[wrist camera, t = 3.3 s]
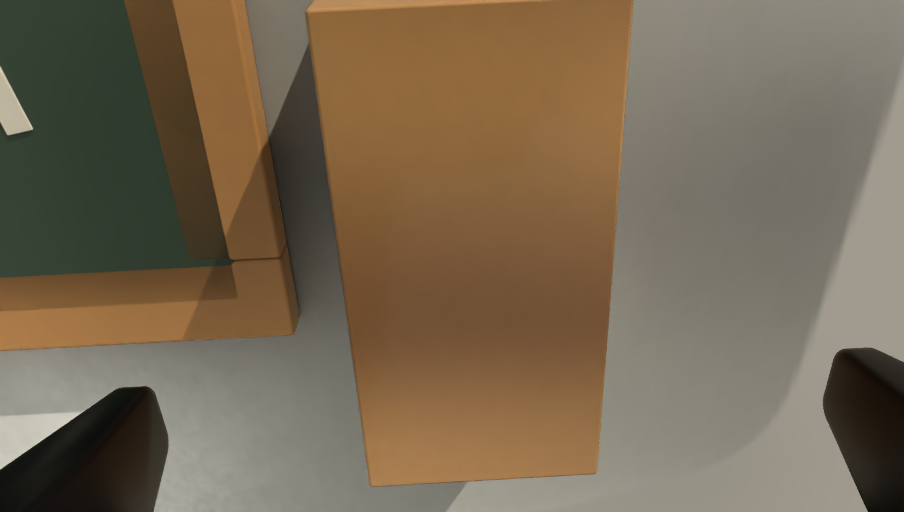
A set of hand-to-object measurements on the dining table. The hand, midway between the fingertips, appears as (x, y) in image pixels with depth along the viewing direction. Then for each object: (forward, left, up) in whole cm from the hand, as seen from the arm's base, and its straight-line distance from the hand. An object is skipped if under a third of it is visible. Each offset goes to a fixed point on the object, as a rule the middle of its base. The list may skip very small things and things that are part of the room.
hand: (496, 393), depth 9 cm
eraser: (0, 0, -7) cm, 7 cm away
